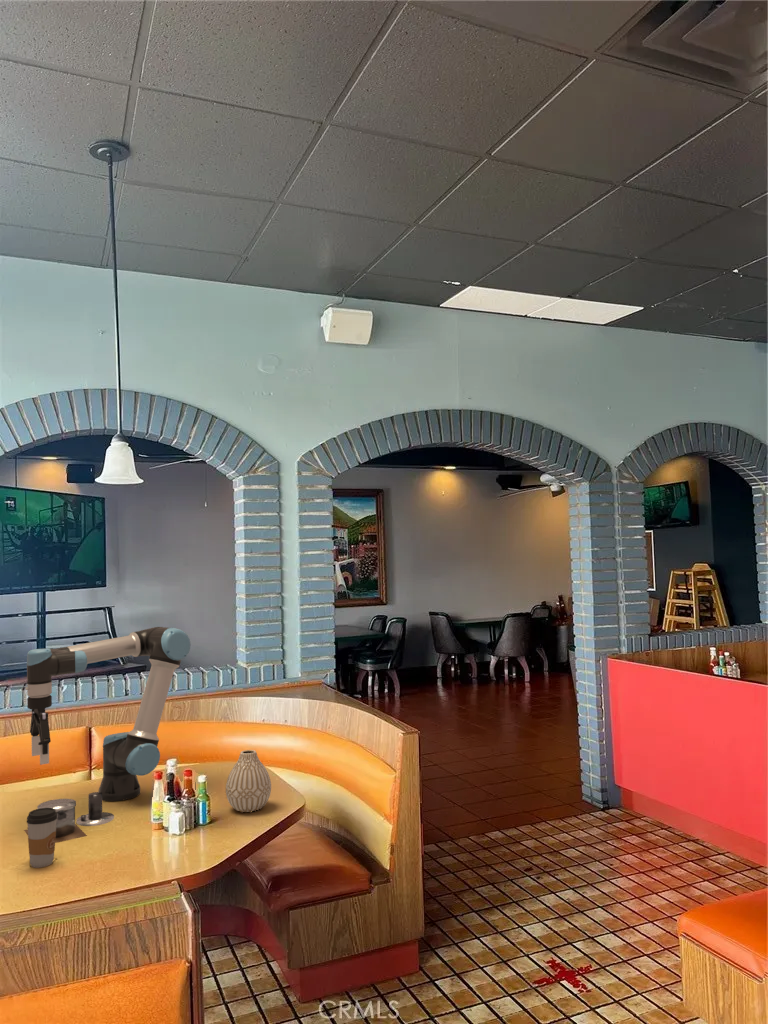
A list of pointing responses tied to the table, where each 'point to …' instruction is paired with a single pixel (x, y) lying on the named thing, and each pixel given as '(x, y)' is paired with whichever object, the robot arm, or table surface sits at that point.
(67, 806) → the cooker pot
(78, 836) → the walnut board
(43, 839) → the coffee cup
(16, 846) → the table surface
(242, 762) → the vase
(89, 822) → the lid
